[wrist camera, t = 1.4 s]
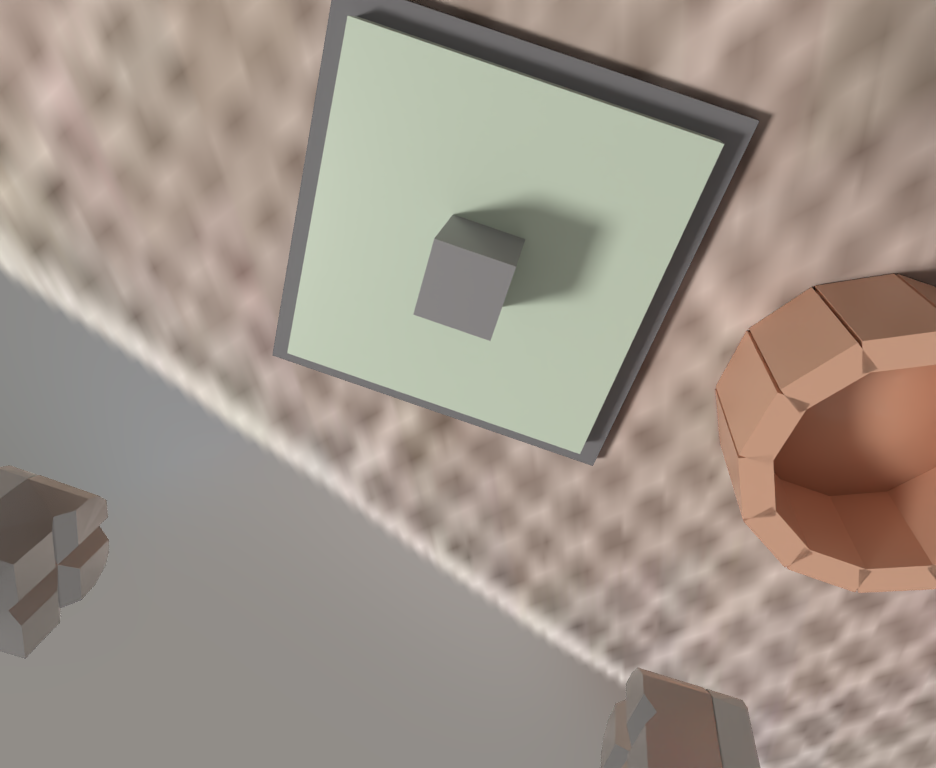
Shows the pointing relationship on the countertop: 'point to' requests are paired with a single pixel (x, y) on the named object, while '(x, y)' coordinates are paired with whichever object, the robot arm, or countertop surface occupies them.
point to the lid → (487, 233)
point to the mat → (392, 9)
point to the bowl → (839, 433)
